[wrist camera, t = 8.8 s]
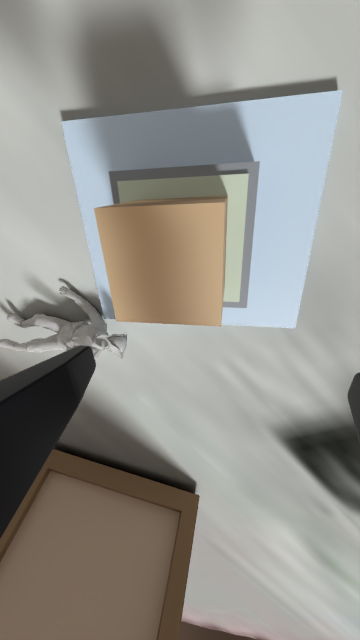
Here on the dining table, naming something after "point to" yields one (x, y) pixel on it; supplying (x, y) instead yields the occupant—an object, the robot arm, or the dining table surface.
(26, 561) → the photo frame
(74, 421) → the dining table surface
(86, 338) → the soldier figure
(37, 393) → the robot arm
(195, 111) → the board
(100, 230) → the oak cube
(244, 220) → the base block
